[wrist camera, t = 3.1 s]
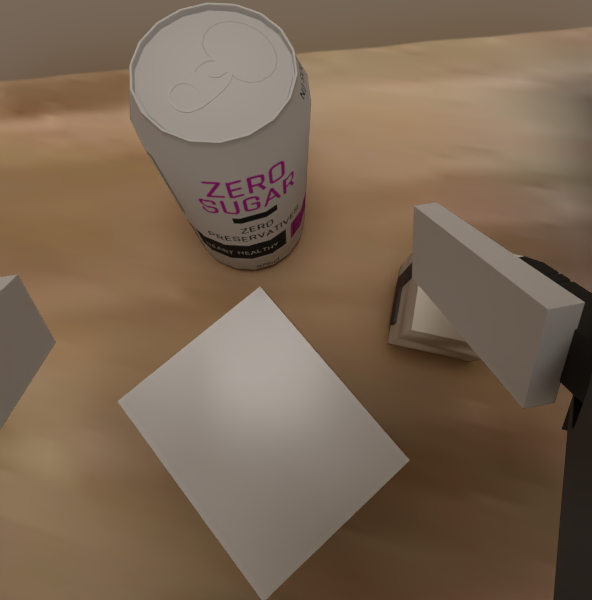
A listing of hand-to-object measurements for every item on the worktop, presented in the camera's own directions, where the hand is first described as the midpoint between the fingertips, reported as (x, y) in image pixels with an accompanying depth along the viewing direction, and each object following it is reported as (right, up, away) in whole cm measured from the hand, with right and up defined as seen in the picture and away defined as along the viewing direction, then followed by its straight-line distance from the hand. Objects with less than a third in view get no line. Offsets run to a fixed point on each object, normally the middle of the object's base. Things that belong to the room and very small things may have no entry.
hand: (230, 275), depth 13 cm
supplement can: (-1, +5, +18) cm, 19 cm away
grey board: (0, -10, +14) cm, 17 cm away
